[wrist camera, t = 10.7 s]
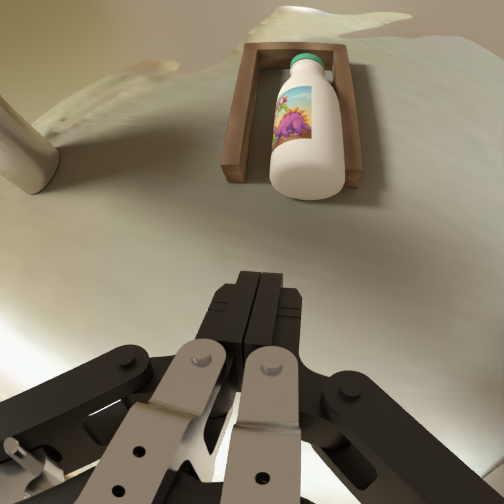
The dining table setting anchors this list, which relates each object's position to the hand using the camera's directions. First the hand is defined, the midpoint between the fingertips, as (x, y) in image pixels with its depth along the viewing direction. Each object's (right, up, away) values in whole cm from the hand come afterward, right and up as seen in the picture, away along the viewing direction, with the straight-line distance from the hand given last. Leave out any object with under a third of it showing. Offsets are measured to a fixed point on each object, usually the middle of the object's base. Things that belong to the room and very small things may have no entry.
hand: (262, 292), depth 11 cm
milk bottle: (+5, +8, +19) cm, 21 cm away
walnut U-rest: (+5, +19, +26) cm, 33 cm away
